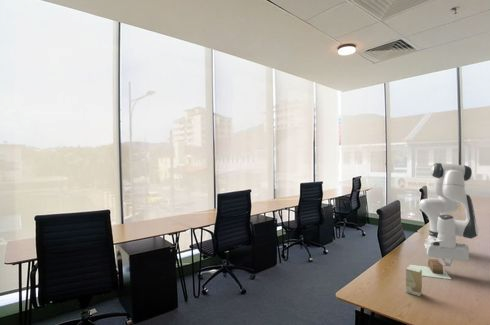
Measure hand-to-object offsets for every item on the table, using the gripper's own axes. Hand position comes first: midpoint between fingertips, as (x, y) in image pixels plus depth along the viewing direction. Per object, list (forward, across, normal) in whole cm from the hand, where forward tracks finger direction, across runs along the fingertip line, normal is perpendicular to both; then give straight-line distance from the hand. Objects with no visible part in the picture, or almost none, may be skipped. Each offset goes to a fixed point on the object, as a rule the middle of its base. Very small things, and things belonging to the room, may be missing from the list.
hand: (447, 265), depth 156 cm
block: (+1, +6, -6) cm, 8 cm away
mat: (+4, +10, +3) cm, 11 cm away
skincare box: (+4, +23, +36) cm, 43 cm away
